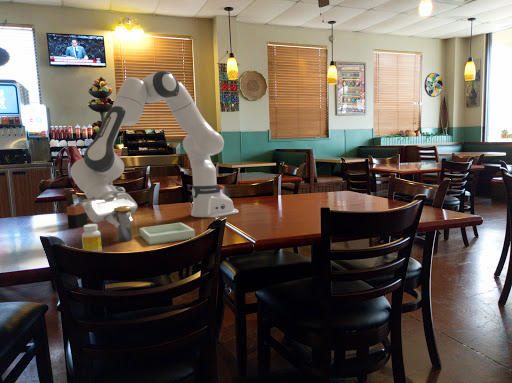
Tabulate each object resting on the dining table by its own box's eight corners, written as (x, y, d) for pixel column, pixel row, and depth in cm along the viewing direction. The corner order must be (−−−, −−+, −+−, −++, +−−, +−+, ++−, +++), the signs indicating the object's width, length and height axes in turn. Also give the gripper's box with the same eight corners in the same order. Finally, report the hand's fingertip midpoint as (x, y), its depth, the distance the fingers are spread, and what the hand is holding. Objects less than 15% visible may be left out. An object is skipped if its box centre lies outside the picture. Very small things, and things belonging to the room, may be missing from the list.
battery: (88, 225, 166) (86, 202, 164) (75, 228, 159) (73, 205, 158) (80, 224, 167) (78, 202, 166) (67, 228, 161) (65, 204, 160)
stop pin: (131, 237, 140) (129, 205, 138) (134, 240, 135) (132, 207, 134) (115, 239, 137) (113, 207, 136) (118, 243, 132) (115, 209, 131)
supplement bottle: (82, 255, 119) (79, 225, 118) (99, 251, 122) (97, 222, 121) (85, 258, 115) (82, 227, 113) (104, 255, 118) (101, 225, 117)
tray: (181, 229, 150) (181, 222, 149) (195, 238, 136) (194, 229, 135) (140, 235, 142) (139, 227, 142) (150, 245, 128) (149, 236, 128)
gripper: (82, 194, 127) (106, 224, 125) (126, 187, 146) (148, 213, 143) (74, 206, 130) (98, 236, 127) (118, 198, 148) (140, 224, 146)
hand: (125, 224), depth 135 cm, fingers closed on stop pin, 5 cm apart
